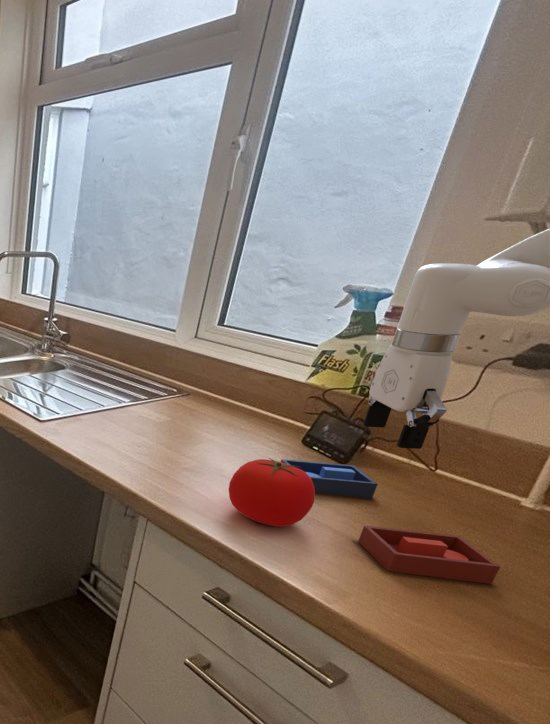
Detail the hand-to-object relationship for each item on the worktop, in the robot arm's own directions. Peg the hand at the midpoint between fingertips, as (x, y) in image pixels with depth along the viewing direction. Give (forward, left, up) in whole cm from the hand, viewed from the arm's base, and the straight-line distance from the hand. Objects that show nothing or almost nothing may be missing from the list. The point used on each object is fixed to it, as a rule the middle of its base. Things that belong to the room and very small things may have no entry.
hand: (390, 436), depth 93 cm
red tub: (+4, +22, -12) cm, 25 cm away
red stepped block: (+3, +22, -11) cm, 25 cm away
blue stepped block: (+6, -2, -11) cm, 13 cm away
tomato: (+22, +14, -12) cm, 29 cm away
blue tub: (+6, -2, -12) cm, 13 cm away
